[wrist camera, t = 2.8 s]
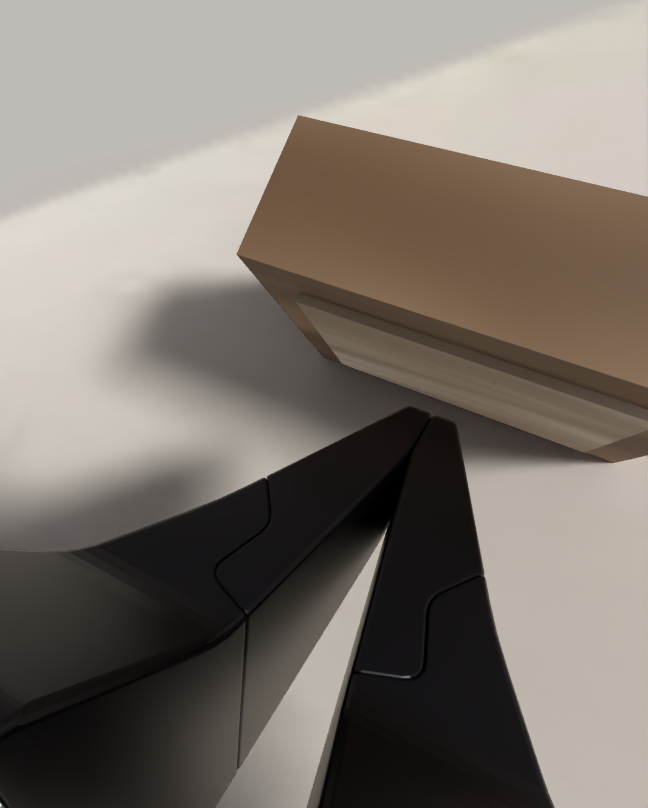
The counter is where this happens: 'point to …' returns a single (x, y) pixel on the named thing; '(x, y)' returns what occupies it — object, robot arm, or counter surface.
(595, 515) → the counter surface
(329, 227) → the walnut block
